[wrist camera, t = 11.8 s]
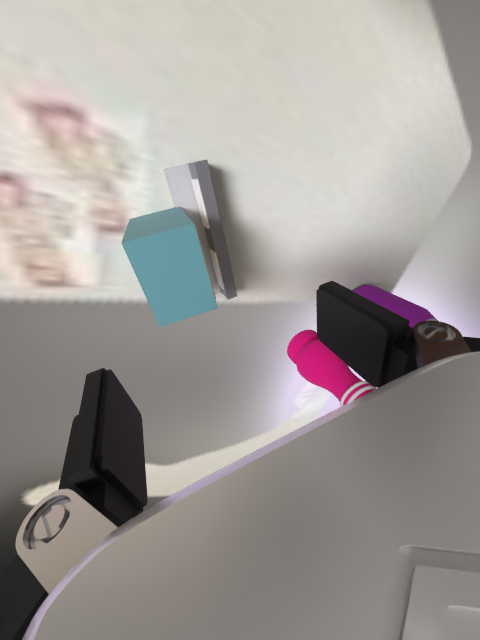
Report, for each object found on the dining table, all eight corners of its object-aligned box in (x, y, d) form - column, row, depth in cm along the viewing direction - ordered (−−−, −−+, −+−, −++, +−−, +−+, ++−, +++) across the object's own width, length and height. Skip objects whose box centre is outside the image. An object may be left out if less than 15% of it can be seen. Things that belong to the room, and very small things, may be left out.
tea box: (156, 282, 29) (159, 327, 20) (129, 219, 25) (121, 242, 17) (199, 269, 29) (219, 307, 21) (180, 206, 26) (196, 222, 17)
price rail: (199, 161, 25) (207, 159, 22) (228, 287, 32) (236, 296, 30) (163, 169, 24) (167, 168, 21) (202, 296, 32) (208, 306, 29)
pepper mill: (277, 345, 41) (377, 457, 25) (312, 318, 41) (434, 411, 25) (293, 369, 45) (387, 476, 29) (325, 344, 45) (436, 438, 29)
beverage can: (346, 330, 46) (405, 372, 36) (331, 305, 41) (395, 344, 31) (378, 302, 45) (447, 336, 36) (367, 273, 41) (443, 303, 31)
